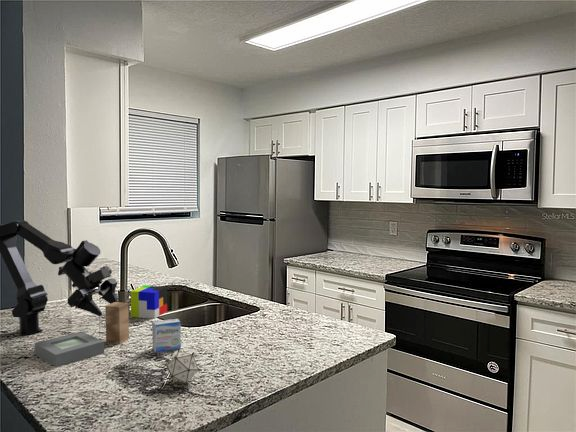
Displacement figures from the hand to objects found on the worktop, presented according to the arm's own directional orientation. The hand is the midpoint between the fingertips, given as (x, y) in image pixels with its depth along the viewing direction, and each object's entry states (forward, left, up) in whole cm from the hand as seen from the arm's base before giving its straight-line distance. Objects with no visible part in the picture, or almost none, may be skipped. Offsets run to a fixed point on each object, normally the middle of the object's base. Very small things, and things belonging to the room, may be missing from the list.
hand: (110, 311), depth 143 cm
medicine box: (+19, +9, -10) cm, 23 cm away
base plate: (+3, -14, -10) cm, 17 cm away
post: (+2, +1, -10) cm, 10 cm away
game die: (+43, 0, -10) cm, 44 cm away
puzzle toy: (-19, +23, -10) cm, 32 cm away
